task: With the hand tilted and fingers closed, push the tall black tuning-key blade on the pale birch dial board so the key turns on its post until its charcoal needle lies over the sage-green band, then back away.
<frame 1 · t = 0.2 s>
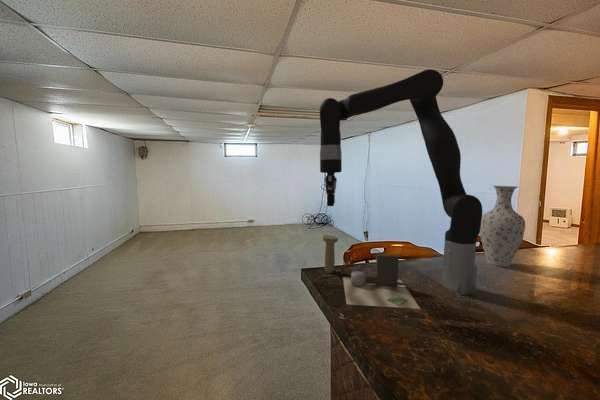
hand: (331, 204, 96), 28 cm above the countertop, tool pointing down, fingers open, 8 cm apart
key: (380, 269, 93), point 7 cm above the countertop, hinge at 0.0°
dial board: (358, 287, 94), on the countertop
handle: (329, 274, 106), on the countertop
vase: (498, 264, 120), on the countertop
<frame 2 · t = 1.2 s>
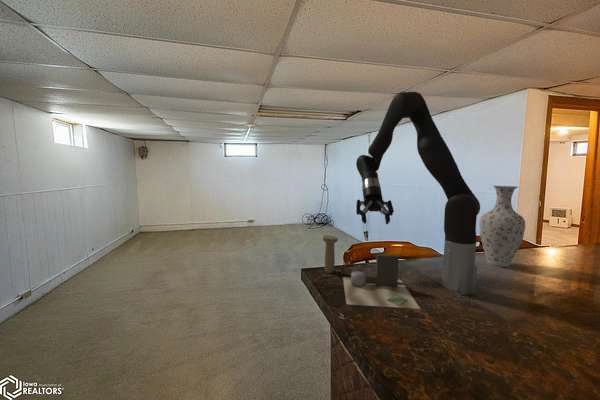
hand: (376, 222, 104), 21 cm above the countertop, tool tilted 45°, fingers open, 8 cm apart
nothing on the countertop moved.
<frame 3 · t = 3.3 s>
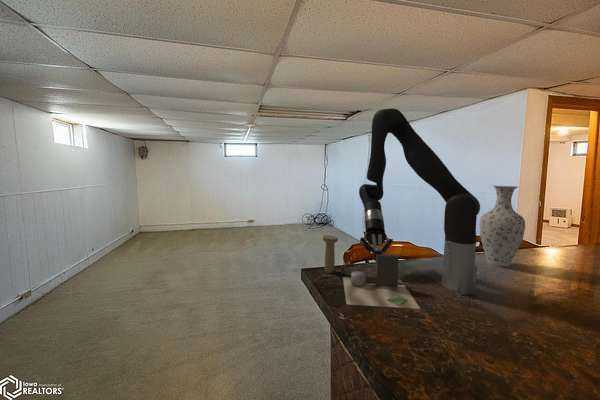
hand: (378, 261, 99), 7 cm above the countertop, tool tilted 45°, fingers closed
nothing on the countertop moved.
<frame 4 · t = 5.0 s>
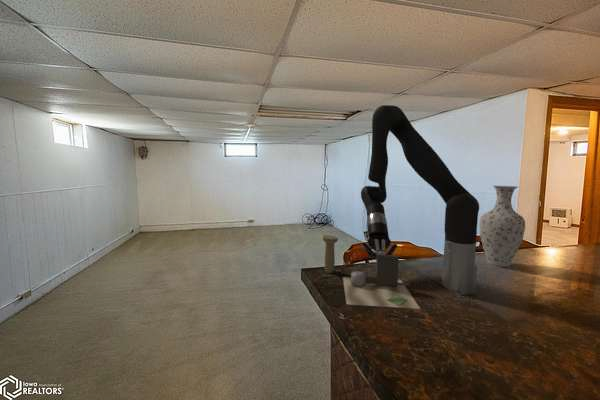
hand: (381, 268, 94), 7 cm above the countertop, tool tilted 45°, fingers closed
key: (380, 270, 92), point 7 cm above the countertop, hinge at 1.2°, touching gripper
everything else where it was.
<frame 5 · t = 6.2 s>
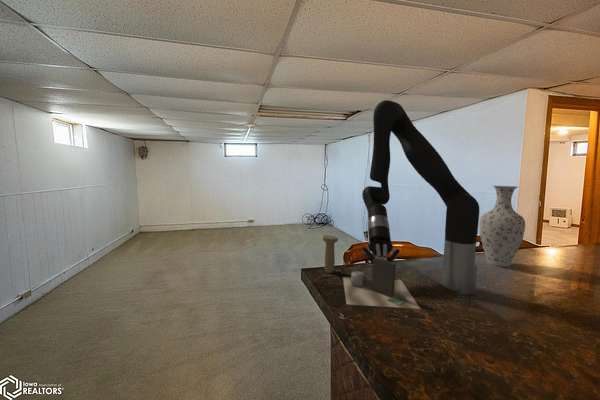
hand: (382, 275, 88), 6 cm above the countertop, tool tilted 45°, fingers closed
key: (377, 274, 88), point 7 cm above the countertop, hinge at 41.3°, touching gripper
everything else where it was.
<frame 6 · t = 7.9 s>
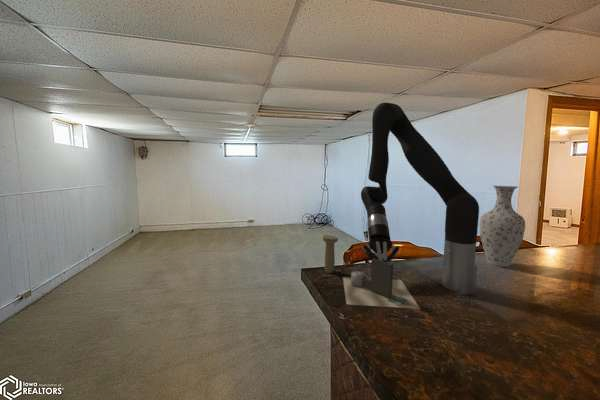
hand: (383, 272, 90), 7 cm above the countertop, tool tilted 45°, fingers closed
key: (375, 275, 87), point 7 cm above the countertop, hinge at 47.4°
everything else where it was.
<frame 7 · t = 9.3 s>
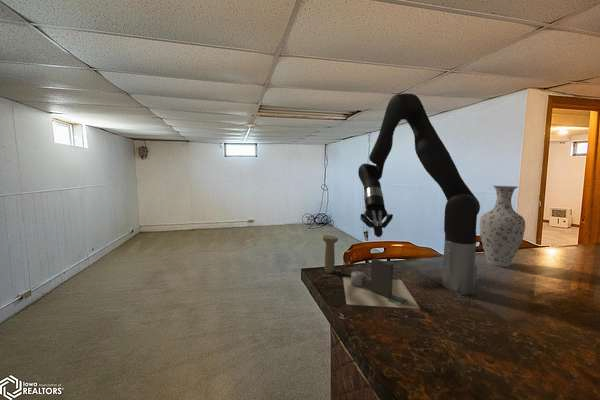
hand: (378, 235, 100), 17 cm above the countertop, tool tilted 45°, fingers closed
nothing on the countertop moved.
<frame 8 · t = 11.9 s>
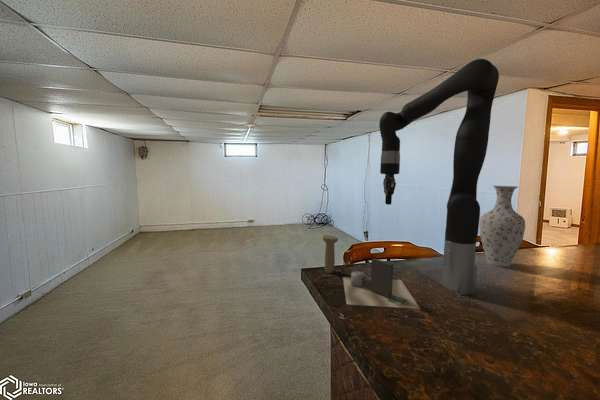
hand: (388, 204, 112), 27 cm above the countertop, tool pointing down, fingers closed
nothing on the countertop moved.
at the end: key at +47° (first picture: +0°) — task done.
